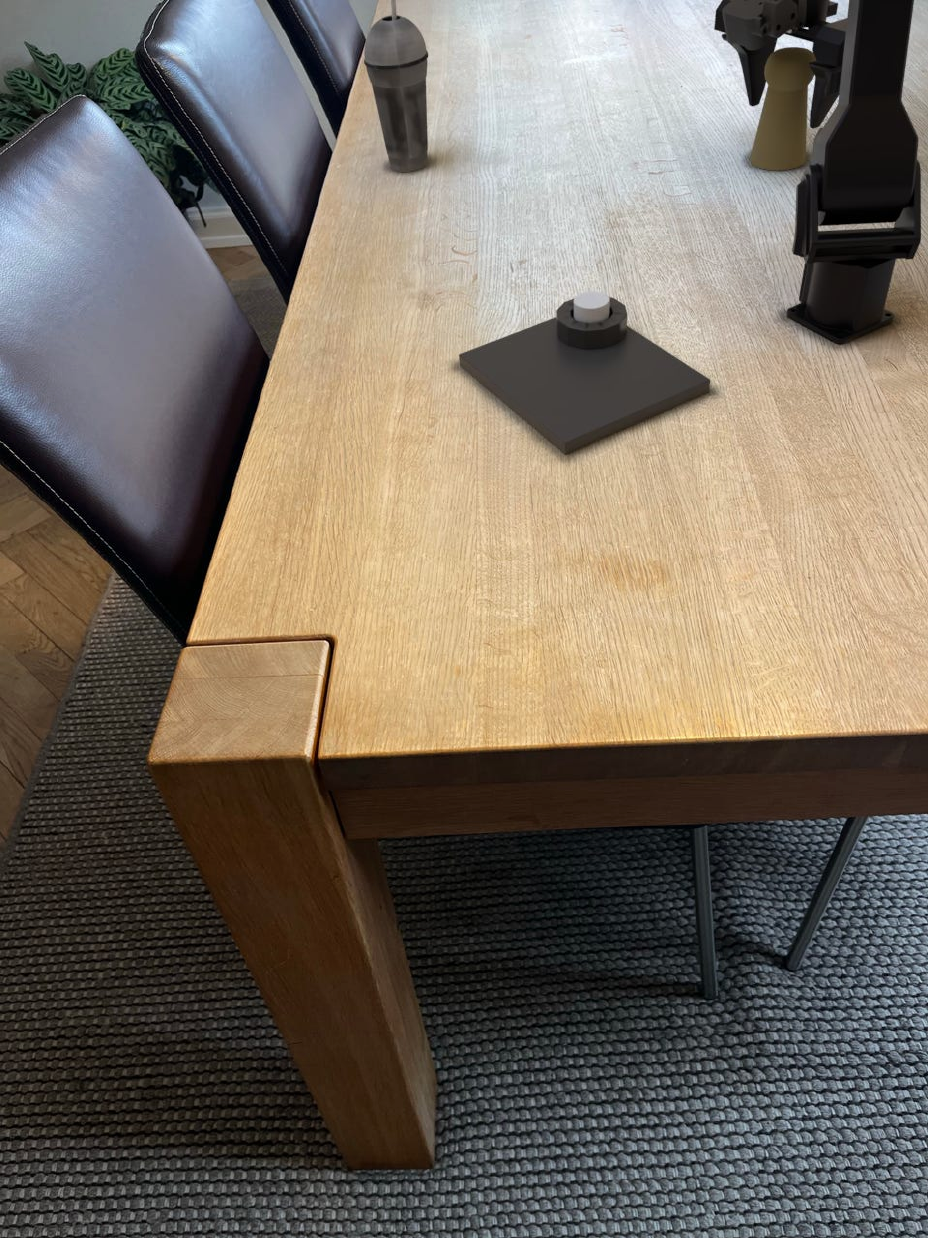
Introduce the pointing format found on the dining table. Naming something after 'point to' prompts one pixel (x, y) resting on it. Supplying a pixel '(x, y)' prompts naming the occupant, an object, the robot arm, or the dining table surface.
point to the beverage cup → (399, 88)
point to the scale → (583, 376)
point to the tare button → (591, 307)
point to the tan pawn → (784, 111)
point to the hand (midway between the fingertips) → (783, 115)
